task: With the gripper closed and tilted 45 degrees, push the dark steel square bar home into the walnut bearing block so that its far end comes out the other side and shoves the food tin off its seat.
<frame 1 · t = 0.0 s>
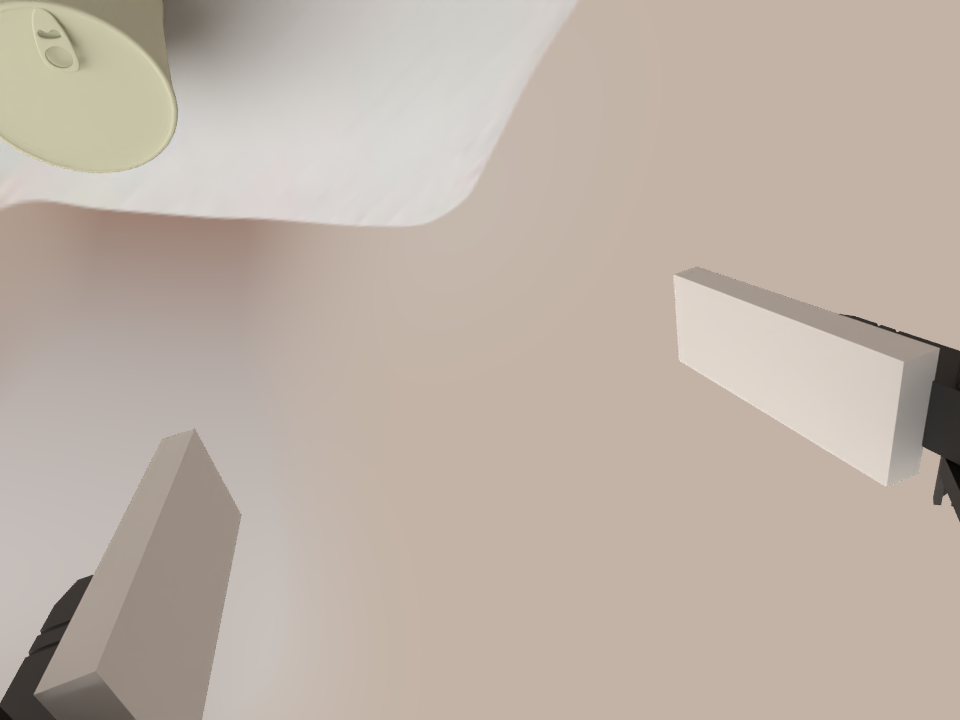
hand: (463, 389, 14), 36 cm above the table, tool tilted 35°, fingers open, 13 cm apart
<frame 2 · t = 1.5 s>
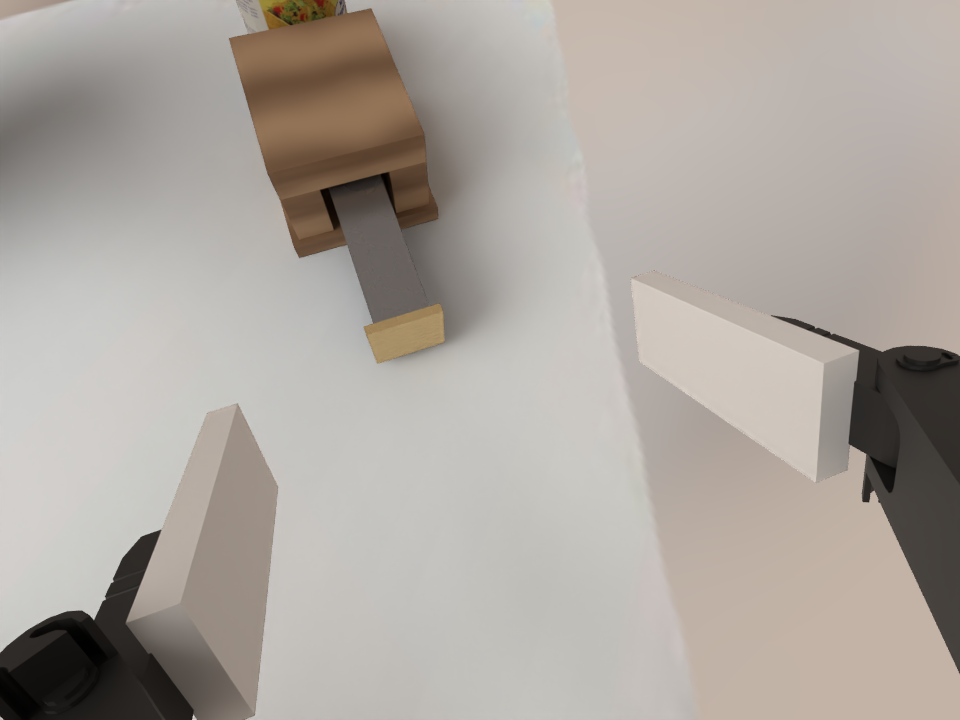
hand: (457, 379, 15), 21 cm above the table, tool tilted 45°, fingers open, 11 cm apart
canned food: (313, 74, 47), on the table
shaft: (363, 212, 38), point 4 cm above the table, slide at 10.0 cm
bearing block: (347, 172, 43), on the table
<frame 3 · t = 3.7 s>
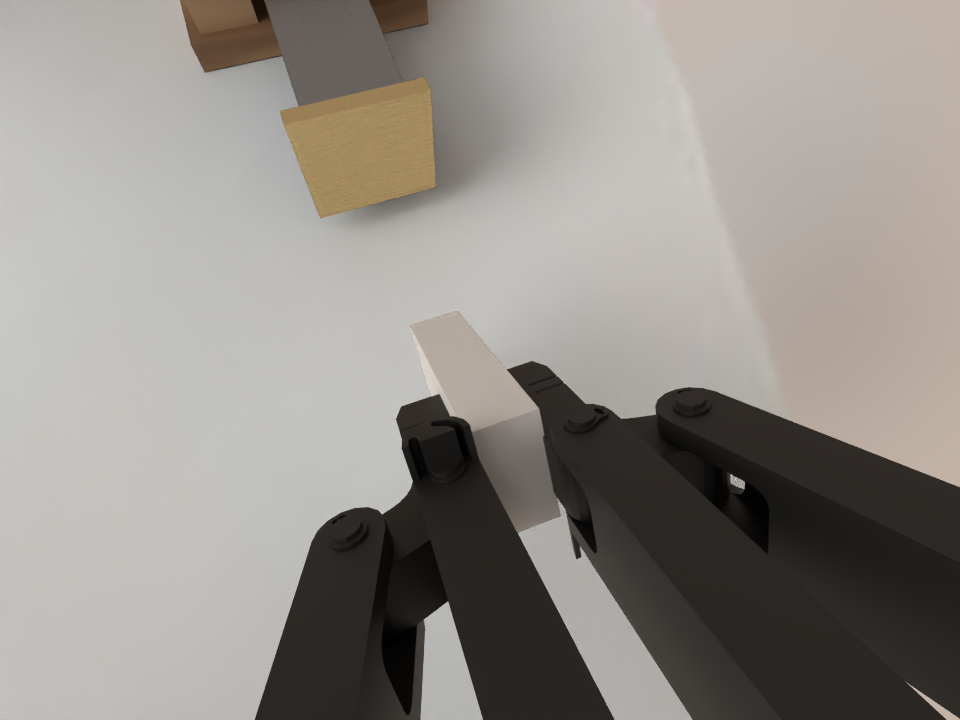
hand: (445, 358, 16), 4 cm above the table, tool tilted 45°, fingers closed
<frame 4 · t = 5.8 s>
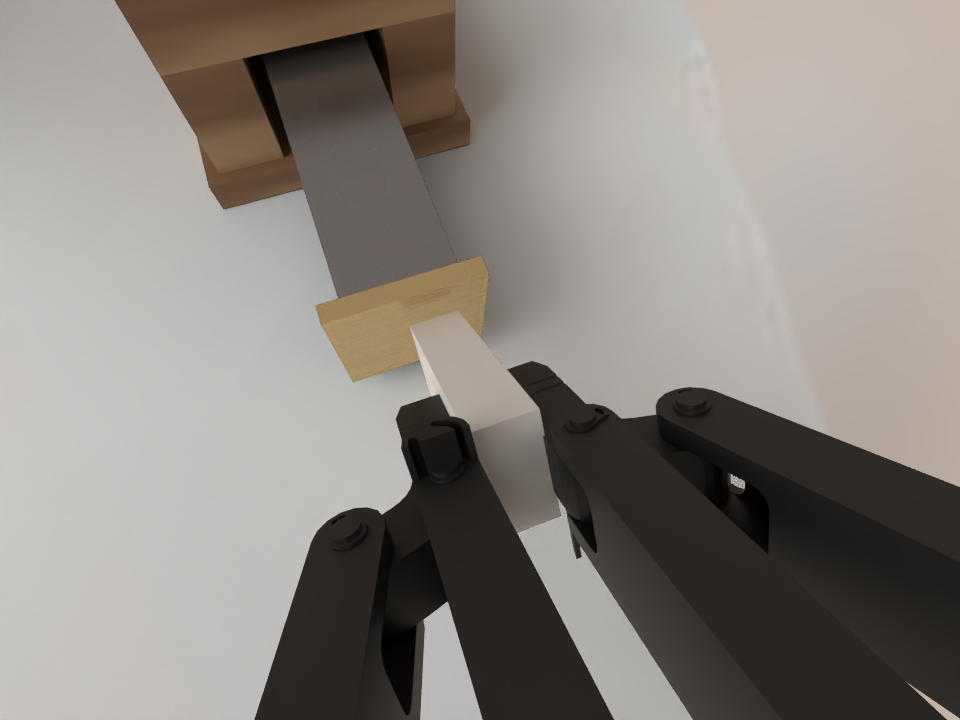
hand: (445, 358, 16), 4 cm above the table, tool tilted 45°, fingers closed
shaft: (329, 98, 20), point 4 cm above the table, slide at 9.1 cm, touching gripper
bearing block: (313, 70, 26), on the table
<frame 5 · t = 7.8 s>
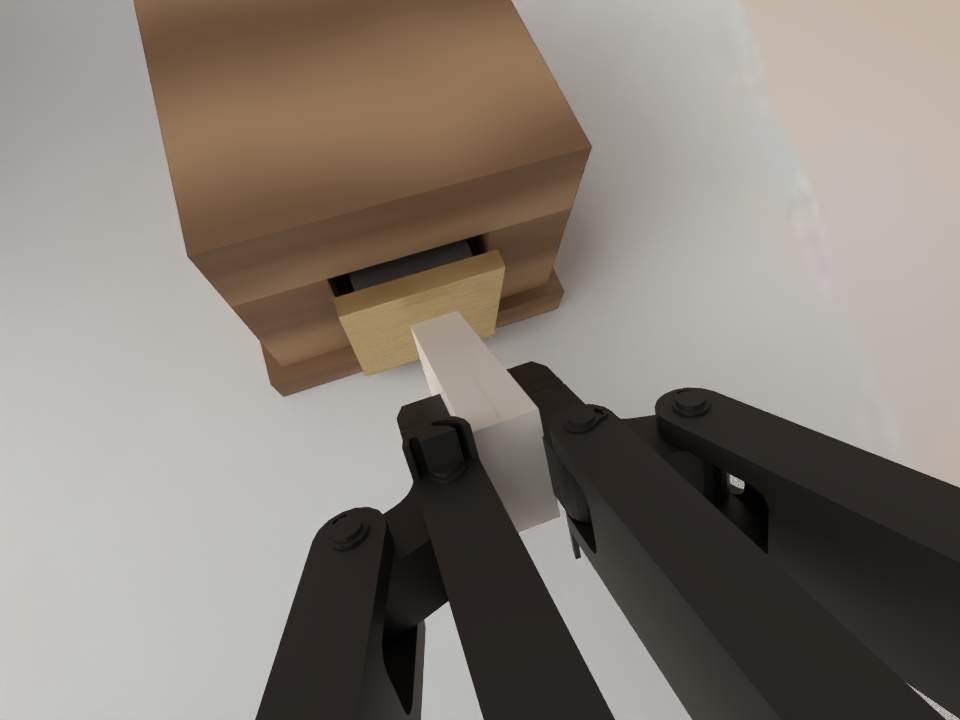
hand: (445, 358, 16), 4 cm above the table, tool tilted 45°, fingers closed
shaft: (341, 92, 20), point 4 cm above the table, slide at 0.1 cm, touching canned food, gripper
bearing block: (377, 215, 23), on the table
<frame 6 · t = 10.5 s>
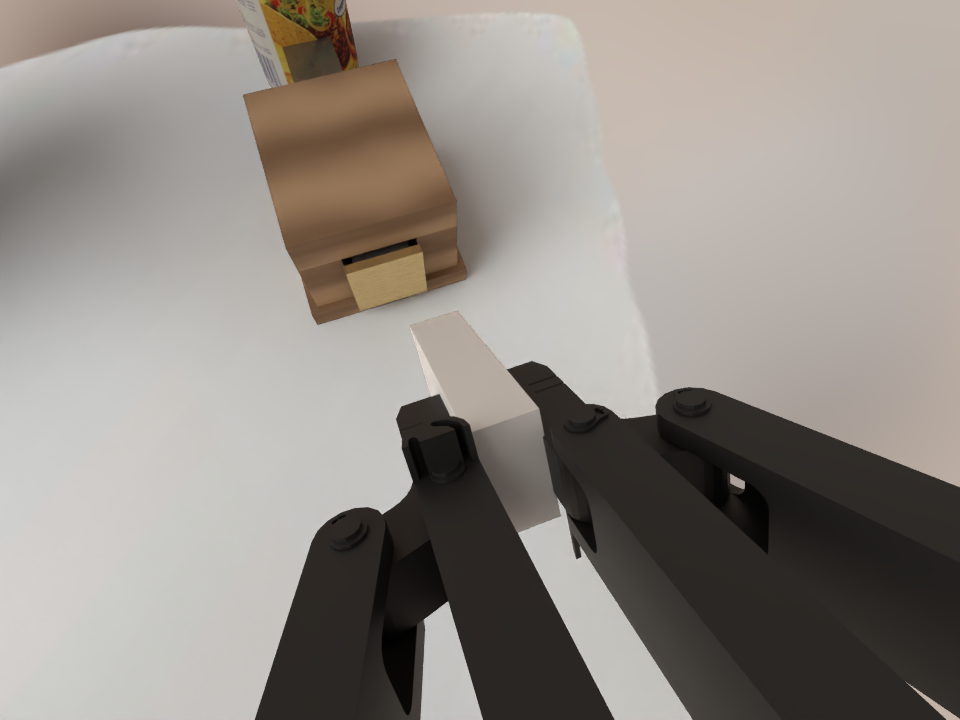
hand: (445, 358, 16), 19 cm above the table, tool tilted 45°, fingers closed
canned food: (313, 71, 47), on the table
shaft: (347, 163, 38), point 4 cm above the table, slide at 0.0 cm
bearing block: (368, 229, 41), on the table
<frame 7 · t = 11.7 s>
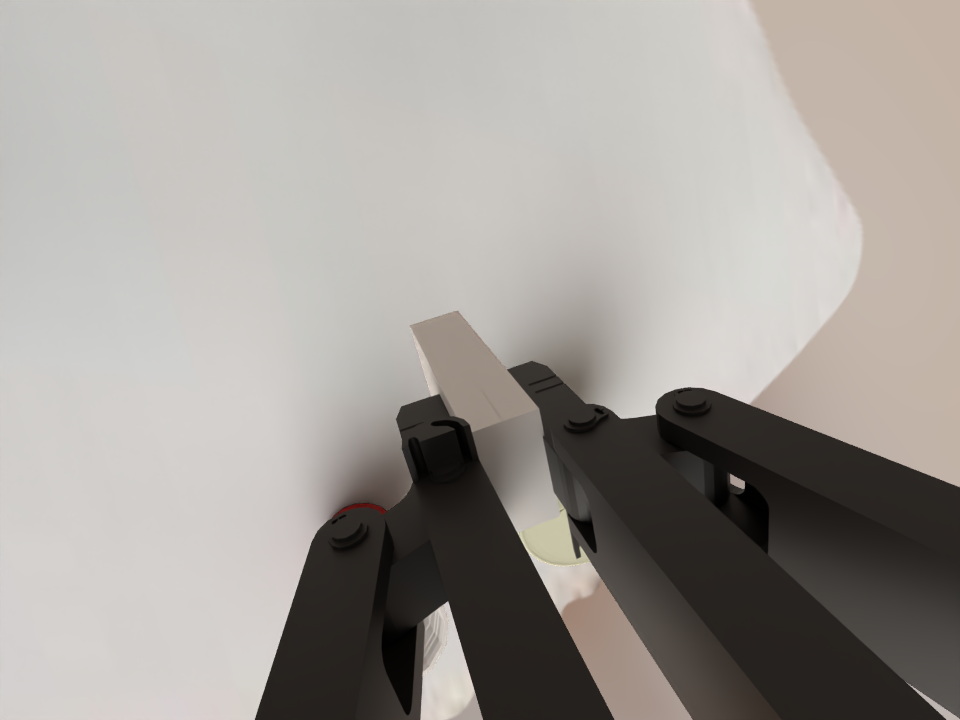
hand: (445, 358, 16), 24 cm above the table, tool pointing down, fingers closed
plastic cup: (360, 526, 46), on the table
can: (525, 430, 47), on the table
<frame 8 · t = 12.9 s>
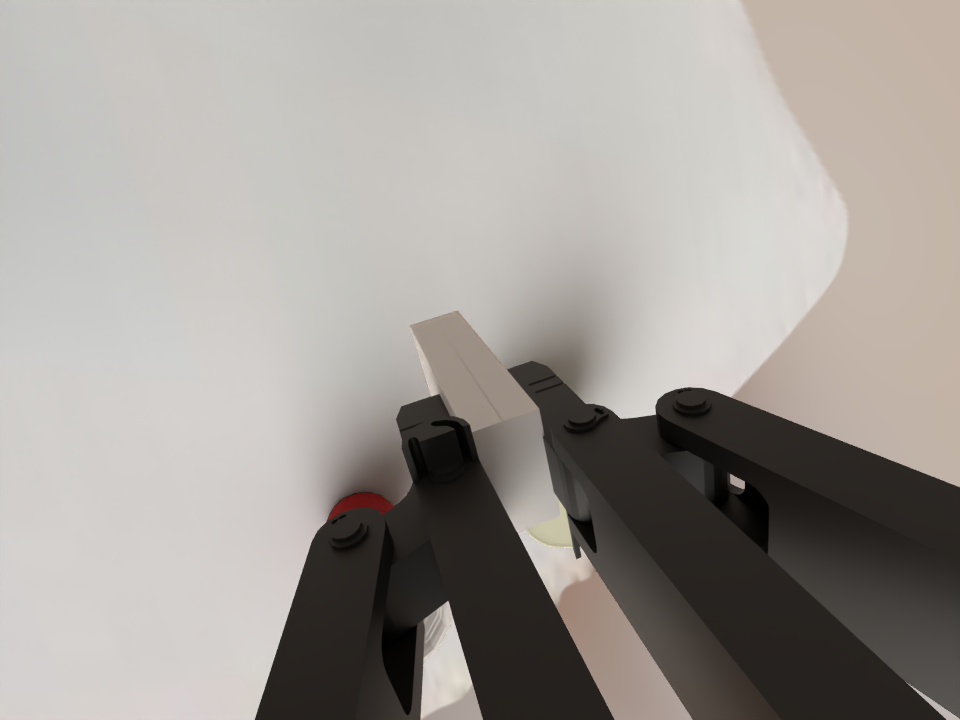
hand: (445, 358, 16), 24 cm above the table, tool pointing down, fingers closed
plastic cup: (361, 515, 47), on the table
can: (522, 417, 48), on the table
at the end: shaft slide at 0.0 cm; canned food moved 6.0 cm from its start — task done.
